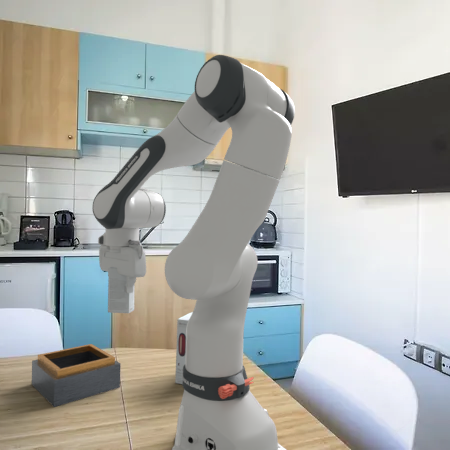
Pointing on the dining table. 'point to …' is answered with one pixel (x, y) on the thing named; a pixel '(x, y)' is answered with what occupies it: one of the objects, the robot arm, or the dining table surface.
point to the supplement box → (181, 346)
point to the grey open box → (74, 374)
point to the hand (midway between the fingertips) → (121, 290)
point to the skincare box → (119, 293)
